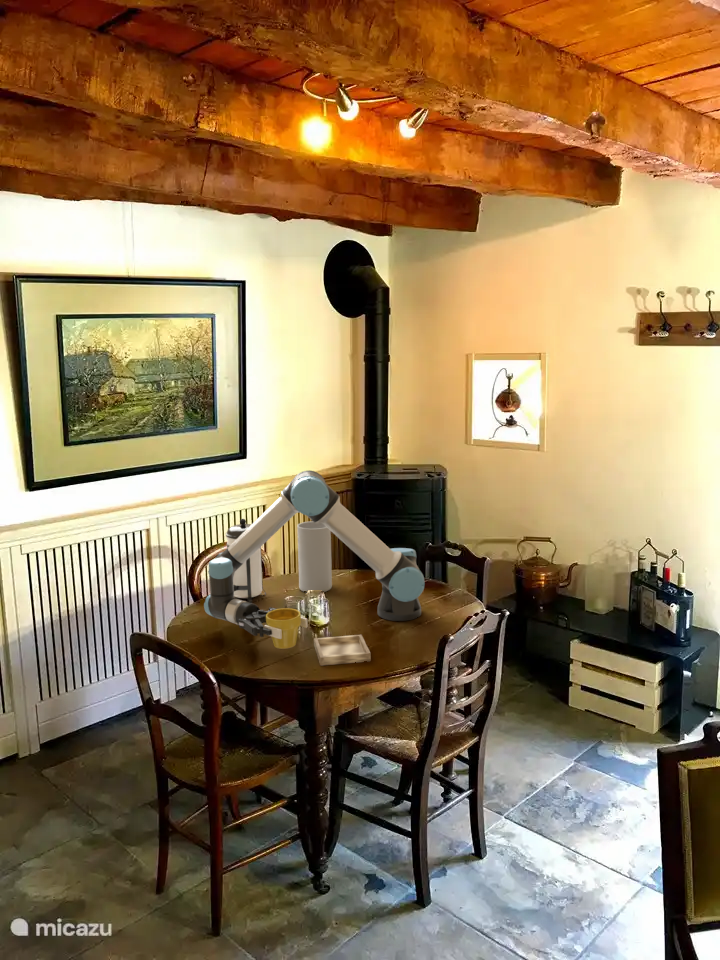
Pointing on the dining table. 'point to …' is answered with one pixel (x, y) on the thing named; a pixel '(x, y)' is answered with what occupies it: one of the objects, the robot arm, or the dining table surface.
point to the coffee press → (246, 567)
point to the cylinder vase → (314, 556)
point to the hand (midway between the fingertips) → (293, 628)
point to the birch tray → (341, 650)
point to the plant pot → (284, 626)
